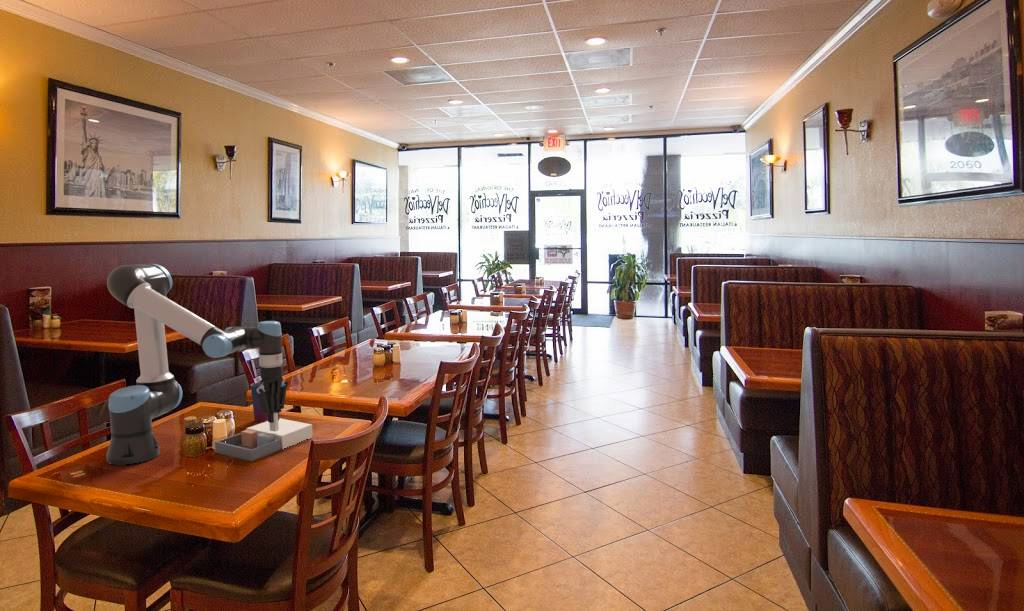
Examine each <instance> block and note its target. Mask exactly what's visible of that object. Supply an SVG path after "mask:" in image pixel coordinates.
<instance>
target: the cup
mask: <svg viewBox="0 0 1024 611" xmlns="http://www.w3.org/2000/svg"><path fill="white" fill-rule="evenodd" d="M260 385H261V381H259V382H254V383H253V382H252V383H251V384H250V393H251V401H252V409H253V419H254V422H255V421H264V422H266V421H265V420H267V421H268V414H267V413H263V412H262V408H261V405H260V401H259V397H258V394H257V393H256V391H255V389H256V388H259V387H260ZM264 392H265V391H264Z"/></svg>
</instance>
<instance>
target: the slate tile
mask: <svg viewBox="0 0 1024 611" xmlns="http://www.w3.org/2000/svg"><path fill="white" fill-rule="evenodd" d="M272 441H273V435H270V434H265V433H261V434H259V435H257V447H259V446H262V445H264V444H267V443H270V442H272Z"/></svg>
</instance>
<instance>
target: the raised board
mask: <svg viewBox="0 0 1024 611" xmlns="http://www.w3.org/2000/svg"><path fill="white" fill-rule="evenodd" d="M278 428H279V430H278V431H276V432H275V431H270V424H269V422H268V420H267V421H264V422H259V423H258V424H254V425H253V426H249V427H246V430H252V431H256V432H257V435H259V434H261V433H265V434H270V435H273V438H275V439H280V449H281V450H282V449H283V450H285V449H284V448H286V449H287V447H288V448H290V447H289V446H291V447H292V445H293V446H296V445H298V444H300V443H302V442H301V441H303V440H305V441H307V440H306V439H308V440H309V439H312V437H313V435H314V434H313V424H312V423H308V422H307V423H306V422H301V421H297V420H291V419H286V418H281V417H279V420H278ZM299 442H300V443H299ZM303 442H304V441H303ZM297 443H298V444H297Z"/></svg>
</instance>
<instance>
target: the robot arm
mask: <svg viewBox="0 0 1024 611" xmlns="http://www.w3.org/2000/svg"><path fill="white" fill-rule="evenodd" d="M106 287H107V290H108V292H109V293H110V295H111V296H112V297H113V298H114V299H116V300H117V301H118V302H120V303H121V304H123V305H124V306H126V307H128V308H130V309H134V310H133V311H134V320H135V330H136V331H135V332H136V341H137V350H138V351H137V352H138V362H139V370H140V375H139V377H137V379H136V380H135V381H136V382H135V383H136V385H129V386H127V387H122V388H118V389H116V390H114V391H113V392H111V393H110V395H109V397H108V404H107V405H108V406H107V407H108V408H107V409H108V415H109V428H110V437H111V438H110V442H109V445H108V449H107V452H106V456H105V457H106V463H107V462H109V463H111V464H116V465H115V466H127V465H126V464H131V465H135V464H134V463H137V464H140V463H139V462H141V463H144V462H143V461H145V462H147V460H148V461H151V460H153V459H155V458H156V457H158V456H159V455H160V454H161V451H160V445H159V443H158V441H157V439H156V437H155V434H154V433H153V426H152V425H153V423H152V420H153V419H155V418H158V417H161V416H163V415H164V414H165V415H166V414H168V413H170V412H171V411H173V410H174V409H175V408H177V407H178V406H179V405H180V404H181V401H182V398H183V389H182V386H181V385H180V384H179V383H178V381H176V380H175V376H174V374H172V372H170V370H169V360H168V348H167V339H166V329H165V328H166V327H165V325H166V326H167V327H169V328H170V329H172V330H173V331H176V332H178V333H179V334H181V335H182V336H184V337H186V338H188V339H189V340H191V341H193V342H195V344H196V343H197V344H198V345H200V346H201V347H202V350H203V353H204V354H205V355H206V356H208V357H209V358H212V359H218V358H222V357H226V356H228V355H231V354H233V353H236V352H239V351H241V350H245V349H247V350H248V349H252V350H253V349H254V350H257V349H258V358H259V359H258V360H259V365H260V367H259V376H260V379H261V381H260V382H261V385H260V387H259V388H256V389H255V391H256V393H257V394H258V397H259V401H260V405H261V408H262V412H263V413H267V414H268V420H267V421H268V422H269V424H270V431H275V432H276V431H278V430H279V428H278V420H279V418H280V413H281V412H282V410H283V409H284V408H285V401H286V396H287V395H286V394H287V389H288V385H289V381H287V380H284V378H283V376H284V366H283V342H282V341H283V339H282V337H283V336H282V335H283V333H282V325H281V323H280V321H276V320H265V321H263V320H262V321H259V322H258V323H257V326H252V327H251V326H249V327H248V326H229V327H226V328H225V329H224V330H222V329H221V328H219V327H217V326H215V325H213V324H212V323H210V322H209V321H207V320H205V319H204V318H202V317H200V316H198V315H197V314H195V313H194V312H192V311H190V310H188V309H187V308H186V307H183V306H182V305H179V304H178V303H176V302H175V301H174V300H171V299H170V298H168V296H167V294H168V293H169V292H170V291H171V289H172V287H173V278H172V276H171V274H170V272H169V271H168V269H166V268H165V267H164V266H163V265H160V264H158V263H147V262H146V263H138V264H124V265H120V266H117V267H116V268H114V269H113V270H112V271H111V272H110V273H109V275H108V276H107V281H106ZM264 391H265V392H264ZM152 458H153V459H152ZM150 459H151V460H150Z"/></svg>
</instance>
